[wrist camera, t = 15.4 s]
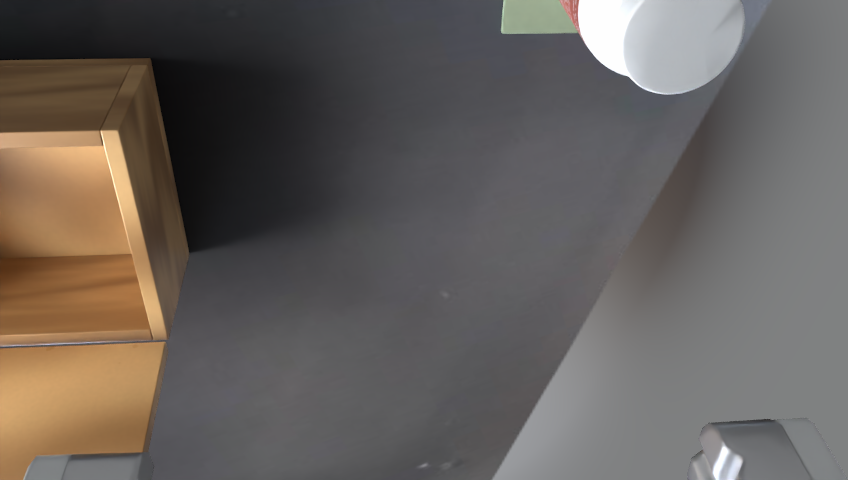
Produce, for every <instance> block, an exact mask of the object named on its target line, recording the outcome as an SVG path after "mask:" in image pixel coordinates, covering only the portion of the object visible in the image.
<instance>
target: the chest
mask: <svg viewBox="0 0 848 480" xmlns="http://www.w3.org/2000/svg"><path fill="white" fill-rule="evenodd" d="M188 257H189V250H188V245H187V240H186V235H185V229H184V224H183V219H182V214H181V209H180V204H179V199H178V194H177V189H176V184H175V179H174V174H173V169H172V164H171V159H170V154H169V149H168V144H167V139H166V134H165V129H164V124H163V119H162V114H161V109H160V104H159V99H158V94H157V89H156V84H155V79H154V74H153V69H152V64H151V59H150V58H132V59H59V60H0V346H23V345H48V344H73V343H97V342H122V341H147V340H168V339H169V335H170V331H171V327H172V323H173V319H174V315H175V311H176V307H177V303H178V298H179V294H180V290H181V286H182V282H183V278H184V274H185V270H186V265H187V261H188Z"/></svg>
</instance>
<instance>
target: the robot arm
mask: <svg viewBox="0 0 848 480" xmlns="http://www.w3.org/2000/svg"><path fill="white" fill-rule="evenodd" d="M699 441H700V443H701V446H702V448H703V450H702V451H700V452H699V453H697V454H696V455H695V456H694V457H692V459H691V462H690V465H689V469H688V472H687V476H688V477H687V479H688V480H848V479H847V477H846V476H845V474H844V473H843V471H842V469H841V467H840V466H839V464H838V463H837V461H836V459H835V458H834V456H833V454H832V453H831V451H830V449H829V448H828V446H827V444H826V443H825V441H824V439H823V438H822V436H821V434H820V433H819V431H818V430H817V428H816V426H815V424H814V423H813V422H811V421H810V420H808V419H807V418H794V419H778V420H770V419H763V420H747V421H733V422H732V421H731V422H718V423H717V422H716V423H708V424H707V425H706V426H704V427H703V428H702V431H701V434H700V437H699ZM153 469H154V465H153V462H152V459H151V456H150V453H149V452H136V453H96V454H62V455H38V456H36V457H35V459H34V460H33V461H32V462H31V464H30V465H29V466H28V468H27V471H26V474H25V476H24V479H23V480H151V479H152V474H153Z"/></svg>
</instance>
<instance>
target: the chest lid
mask: <svg viewBox="0 0 848 480" xmlns="http://www.w3.org/2000/svg"><path fill="white" fill-rule="evenodd" d="M167 355H168V349H167V345H166V342H148V343H124V344H99V345H75V346H50V347H25V348H1V349H0V480H23V479H24V476H25V474H26V471H27V468H28V466H29V465H30V464H31V462H32V461H33V460H34V459H35V457H36V456H38V455H62V454H96V453H136V452H148V450H149V445H150V440H151V435H152V430H153V425H154V420H155V415H156V410H157V405H158V400H159V395H160V390H161V385H162V380H163V375H164V370H165V365H166V360H167Z"/></svg>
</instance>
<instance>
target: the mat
mask: <svg viewBox="0 0 848 480" xmlns="http://www.w3.org/2000/svg"><path fill="white" fill-rule="evenodd" d="M501 32H502V34H531V33H578V31H577V30H576V28H575V26H574V25H573V23H572V21H571V20H570V18H569V16H568V14H567V13H566V11H565V10H564V8H563V6H562V5H561V3H560V1H559V0H504V1H503V13H502V24H501Z"/></svg>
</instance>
